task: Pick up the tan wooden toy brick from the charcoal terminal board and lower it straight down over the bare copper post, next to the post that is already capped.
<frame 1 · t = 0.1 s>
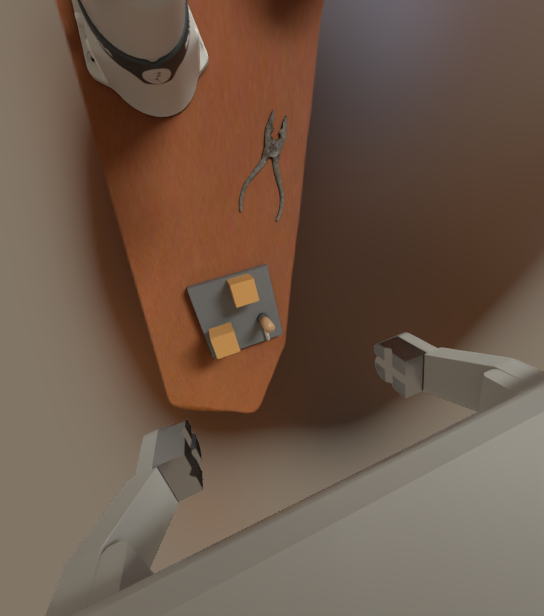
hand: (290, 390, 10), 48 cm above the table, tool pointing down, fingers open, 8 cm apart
terminal board: (237, 310, 60), on the table
pliers: (261, 169, 52), on the table
tan wooden toy brick: (240, 287, 56), point 2 cm above the table, touching terminal board
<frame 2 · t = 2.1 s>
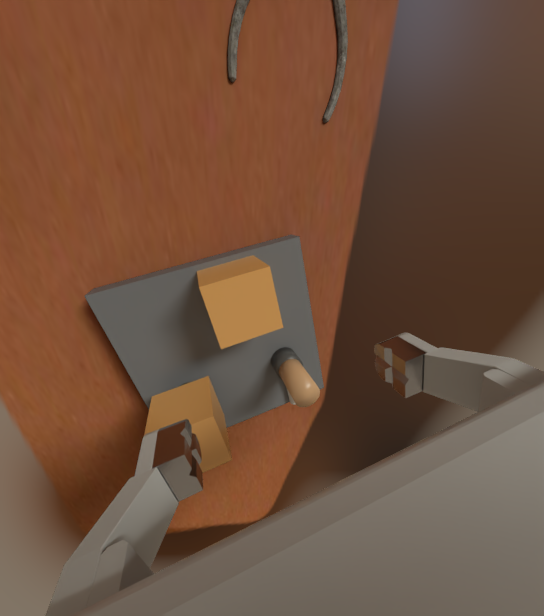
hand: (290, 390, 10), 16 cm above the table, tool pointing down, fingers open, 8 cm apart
terminal board: (227, 342, 26), on the table
tan wooden toy brick: (233, 289, 22), point 2 cm above the table, touching terminal board
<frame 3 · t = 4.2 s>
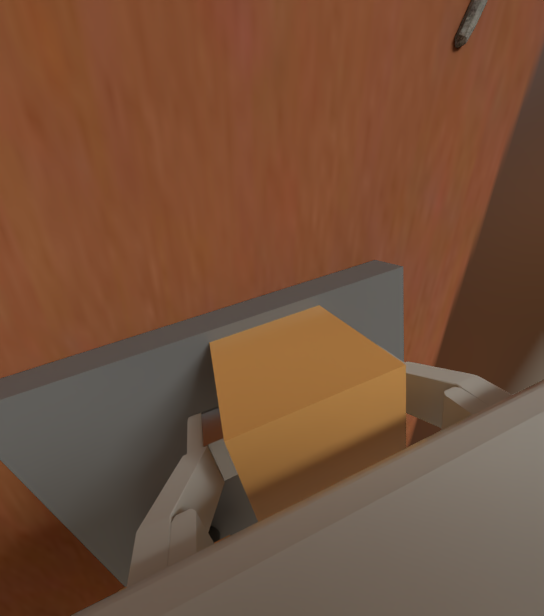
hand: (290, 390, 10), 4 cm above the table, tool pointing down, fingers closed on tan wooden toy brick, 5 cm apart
terminal board: (258, 440, 15), on the table
tan wooden toy brick: (278, 369, 12), point 2 cm above the table, touching gripper, terminal board
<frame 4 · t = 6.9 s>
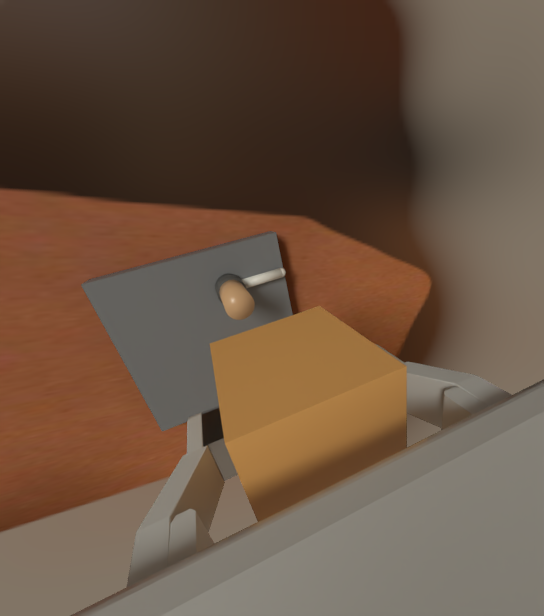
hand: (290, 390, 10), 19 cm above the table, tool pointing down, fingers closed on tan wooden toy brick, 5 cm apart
terminal board: (213, 330, 29), on the table
tan wooden toy brick: (278, 370, 12), point 17 cm above the table, touching gripper
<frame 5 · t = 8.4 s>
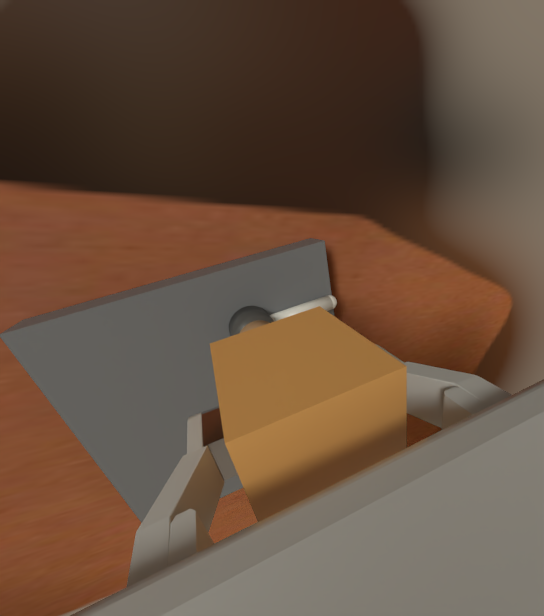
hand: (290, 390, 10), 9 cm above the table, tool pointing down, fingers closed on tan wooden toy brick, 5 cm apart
terminal board: (224, 384, 19), on the table
tan wooden toy brick: (278, 370, 12), point 7 cm above the table, touching gripper
when the fingers open (6 cm above the table, at t = 9.7 s): tan wooden toy brick stays where it is, resting on terminal board.
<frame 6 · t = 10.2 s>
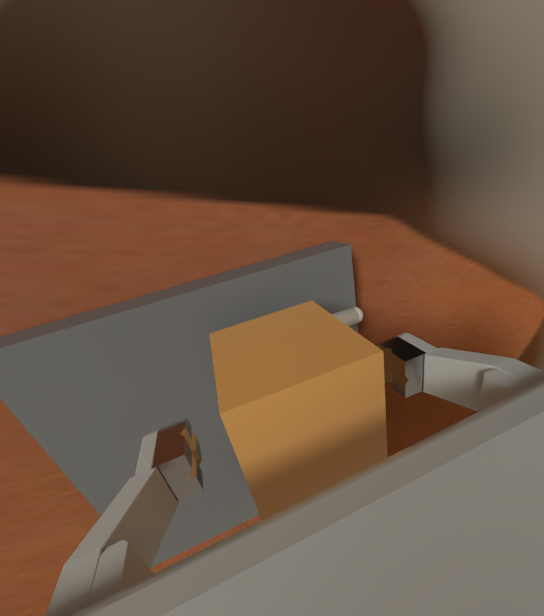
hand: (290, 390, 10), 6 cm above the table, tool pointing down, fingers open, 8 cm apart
terminal board: (231, 404, 17), on the table
tan wooden toy brick: (273, 360, 12), point 4 cm above the table, touching terminal board
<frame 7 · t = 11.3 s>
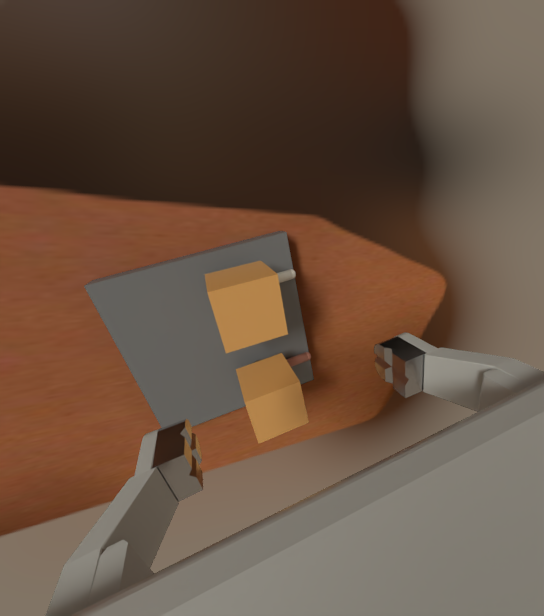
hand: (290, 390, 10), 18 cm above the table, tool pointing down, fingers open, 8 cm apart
terminal board: (220, 333, 28), on the table
tan wooden toy brick: (239, 293, 23), point 4 cm above the table, touching terminal board
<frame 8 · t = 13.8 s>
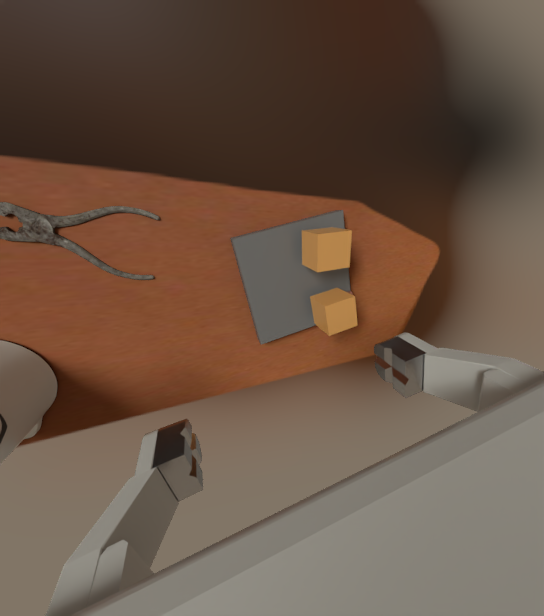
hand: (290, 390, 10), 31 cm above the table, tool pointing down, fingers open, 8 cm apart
terminal board: (295, 277, 43), on the table
pliers: (81, 244, 33), on the table
tan wooden toy brick: (317, 246, 38), point 4 cm above the table, touching terminal board
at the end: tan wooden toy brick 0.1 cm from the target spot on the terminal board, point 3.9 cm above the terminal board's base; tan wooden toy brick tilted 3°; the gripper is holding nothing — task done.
